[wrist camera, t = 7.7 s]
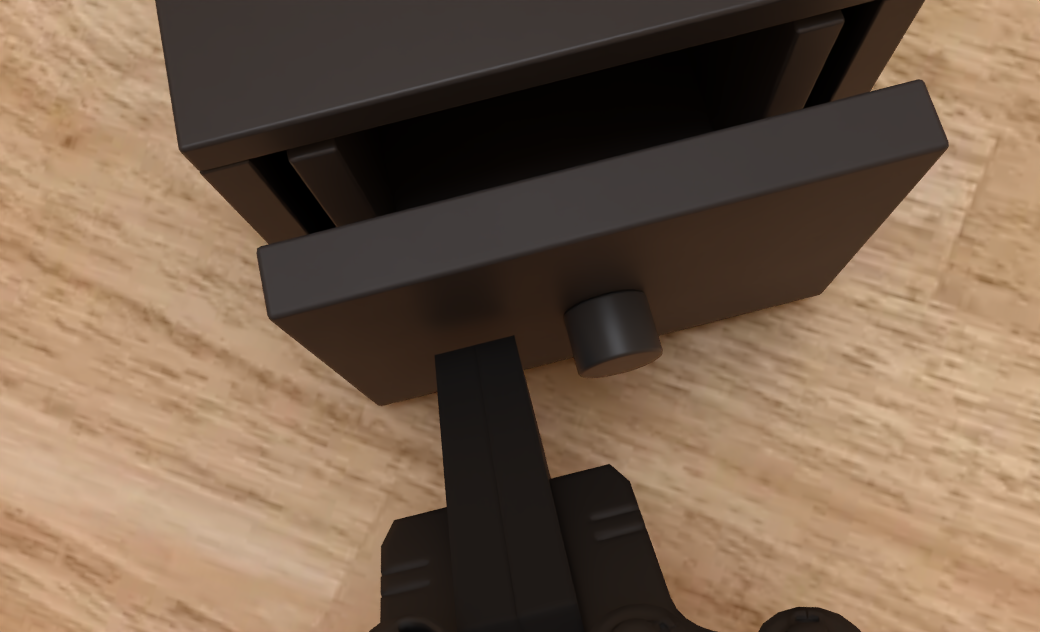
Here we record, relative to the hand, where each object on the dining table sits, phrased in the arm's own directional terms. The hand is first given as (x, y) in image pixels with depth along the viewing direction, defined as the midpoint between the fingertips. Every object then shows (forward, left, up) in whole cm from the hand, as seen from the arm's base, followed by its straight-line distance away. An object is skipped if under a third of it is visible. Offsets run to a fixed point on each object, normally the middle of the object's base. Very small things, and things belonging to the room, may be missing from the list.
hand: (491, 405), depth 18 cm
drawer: (-7, +3, -4) cm, 8 cm away
